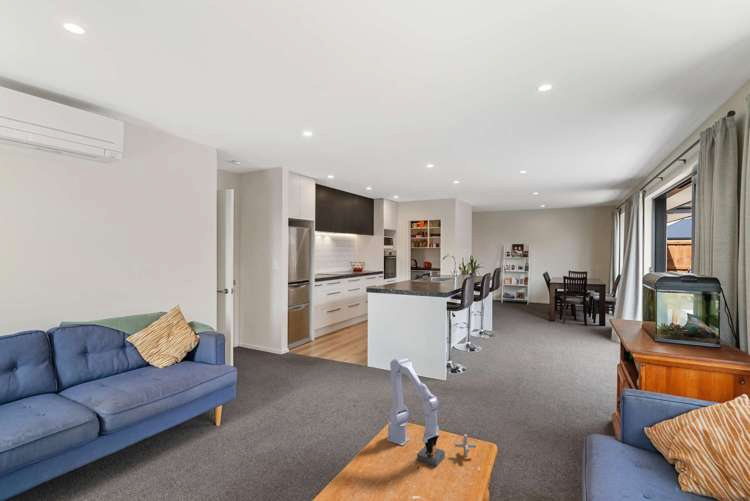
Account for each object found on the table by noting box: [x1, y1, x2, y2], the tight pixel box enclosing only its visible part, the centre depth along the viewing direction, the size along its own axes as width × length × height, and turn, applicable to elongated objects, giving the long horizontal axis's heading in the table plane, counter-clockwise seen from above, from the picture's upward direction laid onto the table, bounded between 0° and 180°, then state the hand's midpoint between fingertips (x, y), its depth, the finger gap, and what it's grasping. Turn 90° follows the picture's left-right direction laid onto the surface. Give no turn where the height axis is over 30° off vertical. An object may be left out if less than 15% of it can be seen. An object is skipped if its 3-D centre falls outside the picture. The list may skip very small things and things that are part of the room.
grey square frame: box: [416, 445, 446, 468], centre depth 171 cm, size 10×10×3 cm
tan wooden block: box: [428, 444, 437, 456], centre depth 171 cm, size 3×3×6 cm
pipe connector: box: [454, 433, 477, 458], centre depth 174 cm, size 10×10×10 cm
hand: (430, 450), depth 171 cm, fingers closed on tan wooden block, 3 cm apart
